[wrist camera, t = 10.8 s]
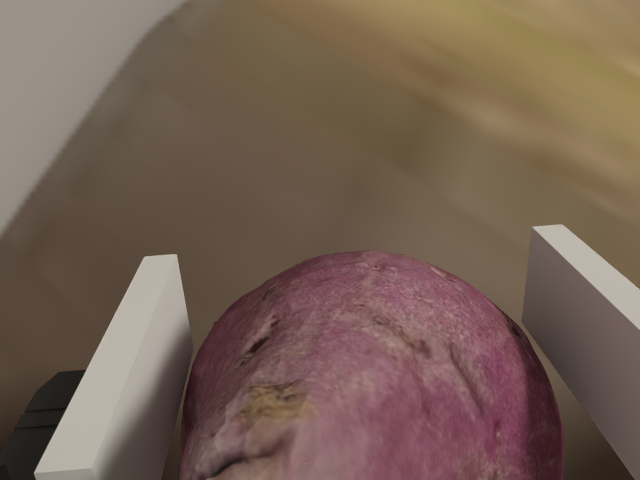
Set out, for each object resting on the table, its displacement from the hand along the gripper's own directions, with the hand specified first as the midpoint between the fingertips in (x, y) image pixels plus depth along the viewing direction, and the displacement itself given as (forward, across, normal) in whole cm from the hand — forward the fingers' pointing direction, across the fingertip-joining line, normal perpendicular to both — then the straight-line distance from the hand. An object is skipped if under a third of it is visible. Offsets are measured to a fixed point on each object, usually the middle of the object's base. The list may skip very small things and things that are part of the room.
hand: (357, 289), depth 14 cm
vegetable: (+2, 0, -6) cm, 7 cm away
